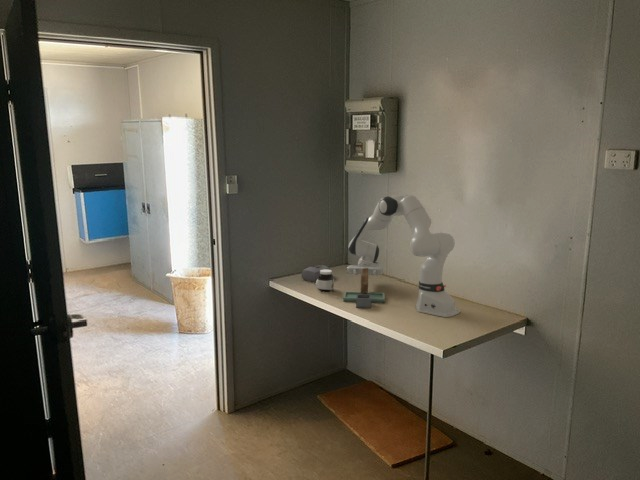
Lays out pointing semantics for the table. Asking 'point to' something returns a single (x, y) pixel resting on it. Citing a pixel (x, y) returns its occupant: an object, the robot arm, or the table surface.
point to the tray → (374, 296)
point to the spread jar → (325, 281)
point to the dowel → (364, 281)
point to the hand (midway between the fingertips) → (364, 273)
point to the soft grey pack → (313, 272)
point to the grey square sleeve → (363, 301)
